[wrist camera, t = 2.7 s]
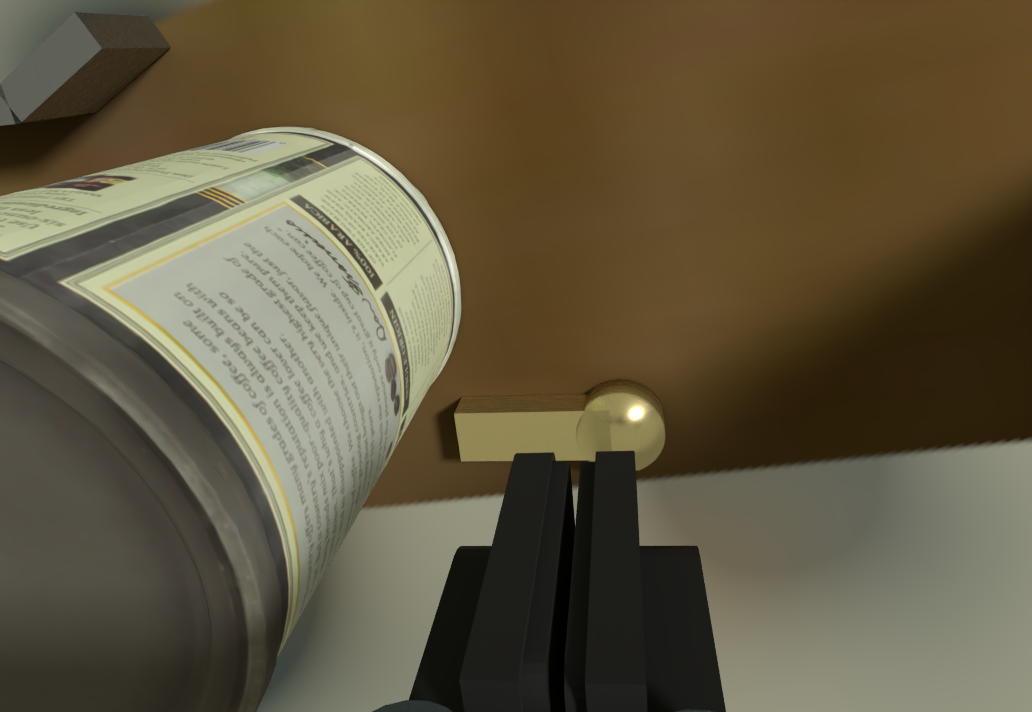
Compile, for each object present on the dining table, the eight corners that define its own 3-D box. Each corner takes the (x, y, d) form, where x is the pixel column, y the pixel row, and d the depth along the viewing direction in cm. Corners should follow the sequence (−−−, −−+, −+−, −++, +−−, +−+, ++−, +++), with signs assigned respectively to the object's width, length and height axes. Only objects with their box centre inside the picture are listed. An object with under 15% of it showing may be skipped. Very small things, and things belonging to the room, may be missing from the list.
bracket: (161, 13, 21) (61, 8, 17) (291, 504, 27) (238, 576, 24) (-210, 62, 23) (-367, 66, 19) (-8, 504, 29) (-98, 568, 26)
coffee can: (301, 471, 27) (-4, 868, 14) (104, 241, 24) (-499, 469, 11) (529, 337, 23) (403, 702, 10) (327, 50, 20) (-179, 64, 8)
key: (663, 378, 23) (664, 394, 22) (664, 453, 24) (666, 473, 23) (460, 383, 24) (451, 399, 23) (470, 455, 25) (463, 473, 24)
